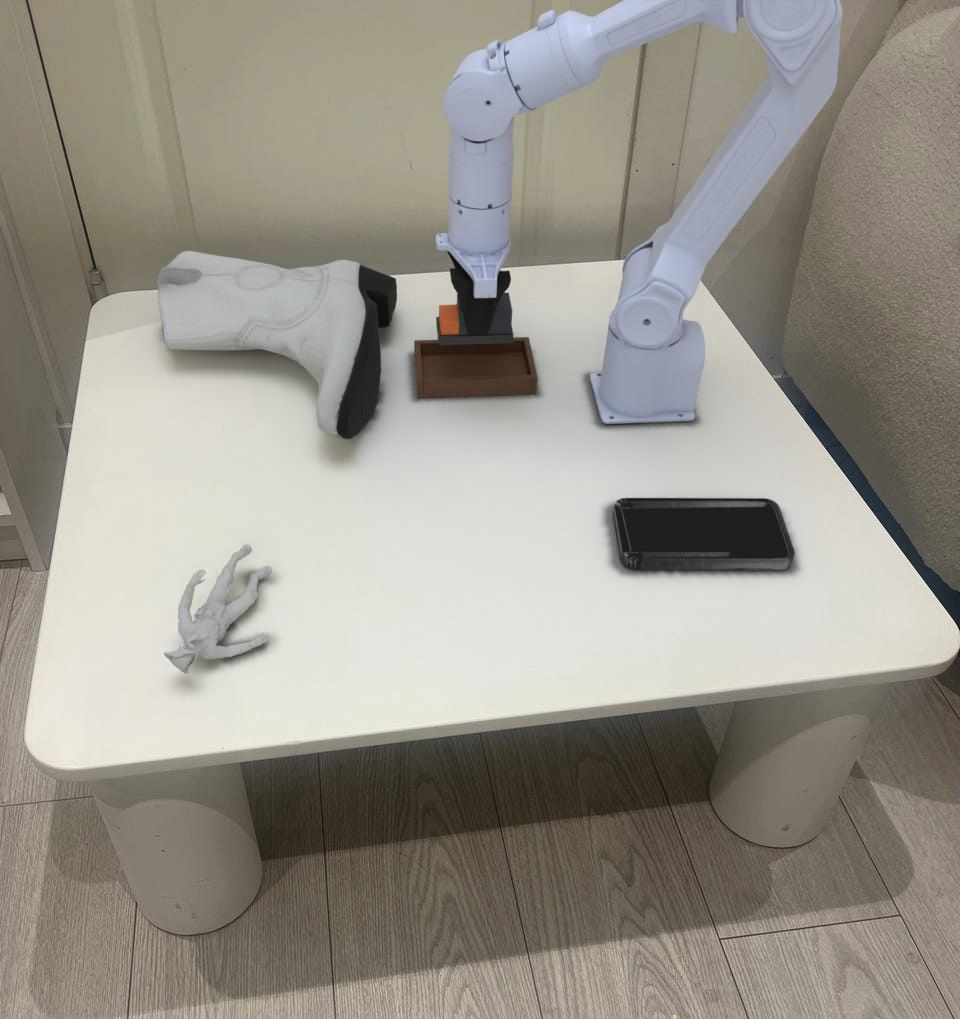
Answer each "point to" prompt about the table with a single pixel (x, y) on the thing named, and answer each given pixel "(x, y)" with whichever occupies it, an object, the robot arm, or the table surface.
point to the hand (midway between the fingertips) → (475, 320)
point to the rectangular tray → (474, 369)
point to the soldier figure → (215, 616)
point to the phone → (702, 534)
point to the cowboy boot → (287, 322)
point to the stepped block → (455, 333)
